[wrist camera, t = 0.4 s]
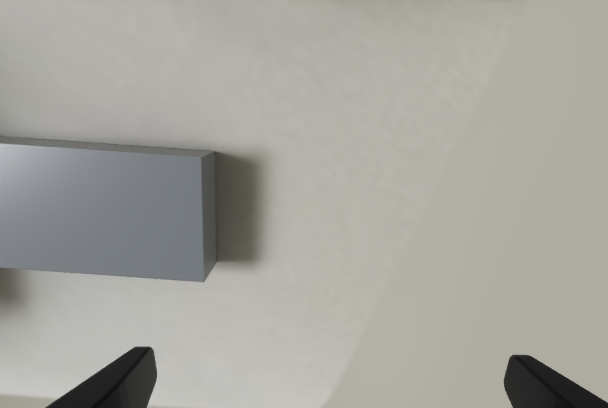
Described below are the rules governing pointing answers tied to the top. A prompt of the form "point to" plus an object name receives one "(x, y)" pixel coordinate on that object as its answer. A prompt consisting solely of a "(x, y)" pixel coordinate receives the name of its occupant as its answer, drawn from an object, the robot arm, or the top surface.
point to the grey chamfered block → (107, 209)
